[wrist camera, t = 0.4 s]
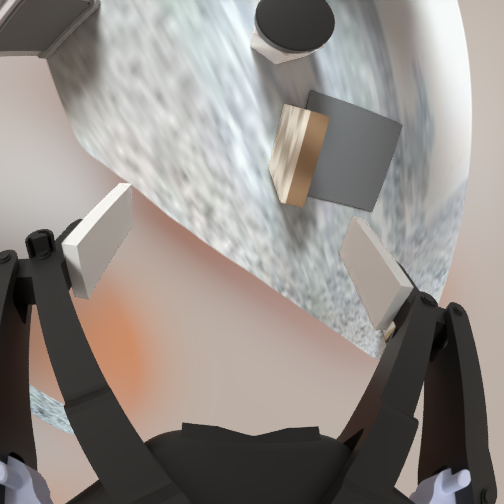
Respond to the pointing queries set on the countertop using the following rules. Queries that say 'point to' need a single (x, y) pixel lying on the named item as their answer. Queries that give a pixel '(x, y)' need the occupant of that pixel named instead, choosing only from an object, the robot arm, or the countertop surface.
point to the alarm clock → (40, 24)
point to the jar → (291, 28)
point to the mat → (352, 152)
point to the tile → (296, 152)
